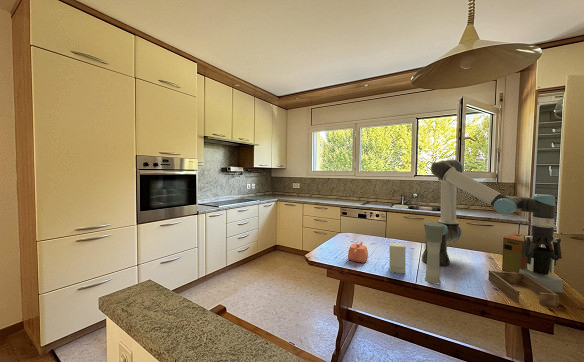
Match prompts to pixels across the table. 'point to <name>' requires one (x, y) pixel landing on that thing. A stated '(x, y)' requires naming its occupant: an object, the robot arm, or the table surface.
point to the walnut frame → (503, 277)
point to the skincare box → (397, 257)
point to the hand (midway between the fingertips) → (540, 270)
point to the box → (513, 253)
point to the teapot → (358, 253)
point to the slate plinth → (545, 280)
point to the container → (433, 250)
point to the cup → (542, 260)
